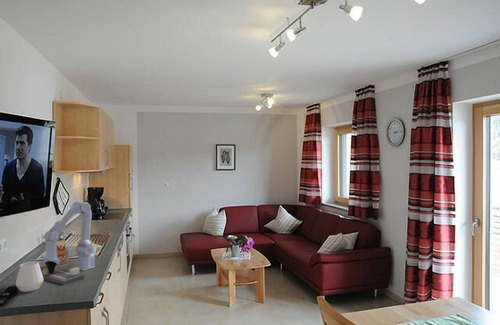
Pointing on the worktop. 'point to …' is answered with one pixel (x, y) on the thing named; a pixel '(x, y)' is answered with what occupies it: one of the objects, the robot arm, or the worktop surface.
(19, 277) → the cup
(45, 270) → the fader orange
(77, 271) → the block
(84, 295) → the worktop surface
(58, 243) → the milk carton
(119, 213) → the worktop surface
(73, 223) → the worktop surface
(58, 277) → the mixing panel
